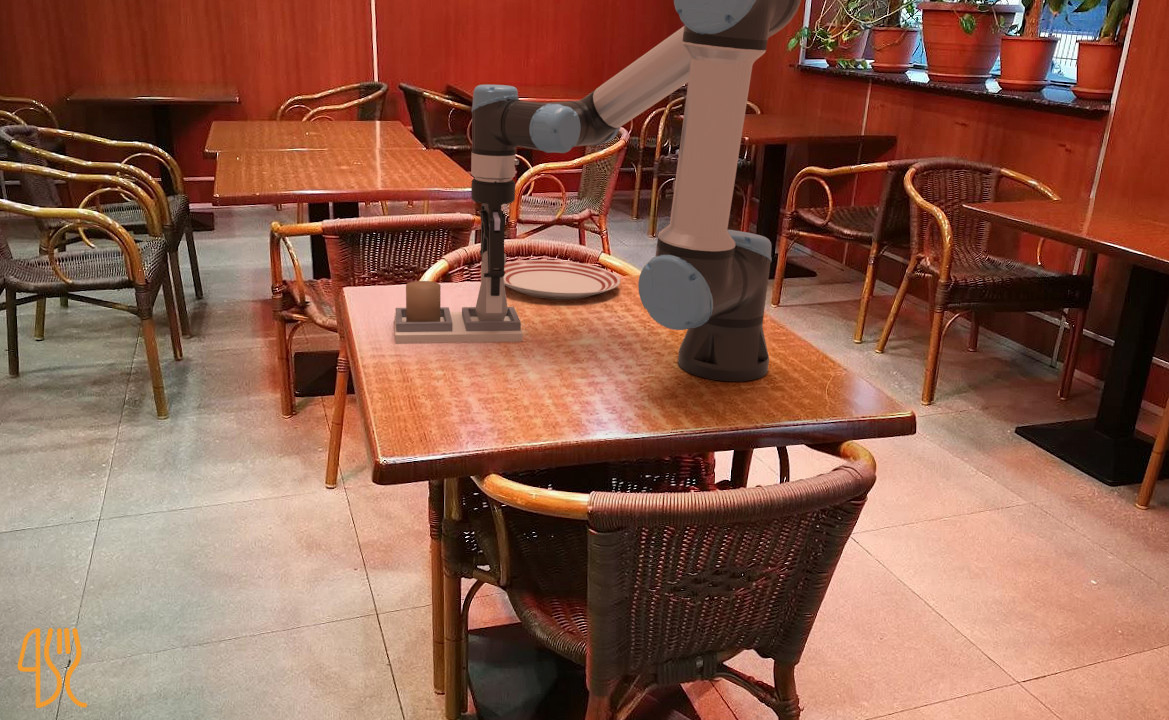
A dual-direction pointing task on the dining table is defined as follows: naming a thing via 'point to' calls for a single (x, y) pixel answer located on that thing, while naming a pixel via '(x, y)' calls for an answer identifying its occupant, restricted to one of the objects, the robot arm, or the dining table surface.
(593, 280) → the dinner plate
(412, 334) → the board
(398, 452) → the dining table surface
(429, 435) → the dining table surface
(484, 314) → the salt shaker
